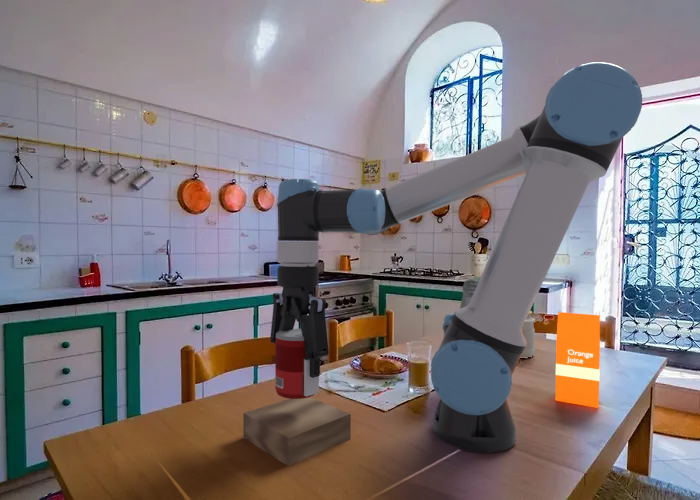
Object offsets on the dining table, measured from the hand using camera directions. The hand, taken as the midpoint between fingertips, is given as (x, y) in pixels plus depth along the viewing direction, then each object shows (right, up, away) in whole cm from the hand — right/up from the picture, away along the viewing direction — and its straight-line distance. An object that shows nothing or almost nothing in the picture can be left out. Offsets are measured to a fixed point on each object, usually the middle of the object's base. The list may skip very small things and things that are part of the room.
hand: (297, 387), depth 79 cm
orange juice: (+63, -10, +21) cm, 67 cm away
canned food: (0, -1, 0) cm, 1 cm away
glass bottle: (+41, -9, +26) cm, 49 cm away
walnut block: (0, -10, 0) cm, 10 cm away
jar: (+63, -9, +61) cm, 89 cm away
